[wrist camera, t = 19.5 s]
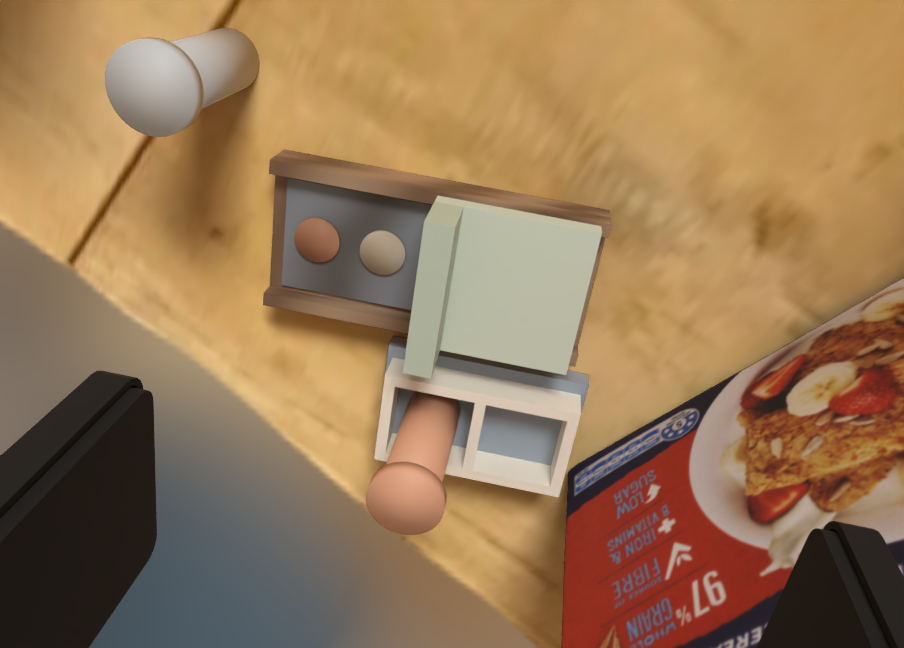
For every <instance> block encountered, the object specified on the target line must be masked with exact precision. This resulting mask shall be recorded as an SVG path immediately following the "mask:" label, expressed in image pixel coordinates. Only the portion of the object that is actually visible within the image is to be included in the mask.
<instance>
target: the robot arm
mask: <svg viewBox="0 0 904 648" xmlns="http://www.w3.org/2000/svg"><path fill="white" fill-rule="evenodd" d="M155 488H156V486H155V448H154V409H153V396H152V393H151V392H150V391H147V390H143V385H142V383H141V381H140V380H139V379H138V378H135V377H130V376H125V375H120V374H115V373H110V372H106V371H96V372H94V373H93V374H91V375H90V376H89V377H88V378H87V379H86V380H85V381H84V382H82V383H81V384H80V385H79V386H78V387H77V388H76V389H75V390H74V391H73V392H71V393H70V394H69V395H68V396H67V397H66V398H65V399H64V400H62V401H61V402H60V403H59V404H58V405H57V406H56V407H55V408H53V409H52V410H51V411H50V412H49V413H48V414H47V415H46V416H45V417H44V418H42V419H41V420H40V421H39V422H38V423H37V424H36V425H35V426H33V427H32V428H31V429H30V430H29V431H28V432H27V433H26V434H25V435H23V436H22V437H21V438H20V439H19V440H18V441H17V442H16V443H14V444H13V445H12V446H11V447H10V448H9V449H8V450H7V451H6V452H4V453H3V454H2V455H0V648H89V646H90V645H91V643H92V642H93V640H94V639H95V637H96V636H97V635H98V633H99V632H100V630H101V629H102V627H103V626H104V624H105V623H106V621H107V620H108V619H109V617H110V616H111V614H112V613H113V611H114V610H115V608H116V607H117V605H118V604H119V603H120V601H121V600H122V598H123V597H124V595H125V594H126V592H127V591H128V589H129V588H130V586H131V585H132V584H133V582H134V581H135V579H136V578H137V576H138V575H139V573H140V572H141V570H142V569H143V567H144V566H145V565H146V563H147V562H148V560H149V558H150V556H151V554H152V552H153V549H154V546H155V542H156V535H157V529H156V528H157V526H156V489H155ZM756 648H904V576H903V574H902V572H901V570H900V569H899V567H898V565H897V563H896V561H895V559H894V557H893V555H892V553H891V552H890V550H889V548H888V546H887V544H886V542H885V540H884V538H883V537H882V535H881V534H880V533H879V531H877V530H875V529H872V528H867V527H862V526H857V525H852V524H847V523H842V522H838V521H830V522H829V523H827V524H826V525H825V526H824V528H823V529H819V528H816V529H813V530H812V531H811V532H810V534H809V535H808V537H807V539H806V542H805V544H804V546H803V548H802V550H801V552H800V555H799V557H798V559H797V561H796V563H795V565H794V567H793V570H792V572H791V574H790V576H789V578H788V580H787V583H786V585H785V587H784V589H783V591H782V593H781V596H780V598H779V600H778V602H777V604H776V606H775V608H774V611H773V613H772V615H771V617H770V619H769V621H768V624H767V626H766V628H765V630H764V632H763V634H762V636H761V639H760V641H759V643H758V645H757V647H756Z"/></svg>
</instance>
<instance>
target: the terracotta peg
mask: <svg viewBox="0 0 904 648" xmlns="http://www.w3.org/2000/svg"><path fill="white" fill-rule="evenodd" d="M460 412H461V409H460V404H459V402H458V400H457V399H453V398H448V397H443V396H438V395H433V394H428V393H424V392H419V391H416V392H415V393H414V394H413V395H412V396H411V398H410V401H409V404H408V406H407V409H406V412H405V414H404V417H403V420H402V422H401V425H400V428H399V430H398V433H397V436H396V438H395V441H394V444H393V447H392V449H391V452H390V455H389V457H388V460H387V463H386V465H385V466H383V467H381V468H380V469H379V470H378V471H377V472H376V473H375V474H374V475H373V477H372V479H371V482H370V485H369V487H368V490H367V493H366V504H367V507H368V510H369V512H370V514H371V515H372V517H373V518H374V519H375V520H376V521H377V522H378V523H379V524H380V525H382V526H383V527H385V528H387V529H389V530H391V531H393V532H396V533H400V534H406V535H416V534H422V533H425V532H427V531H429V530H431V529H433V528H434V527H435V526H436V525H437V524H438V523H439V522H440V520H441V519H442V516H443V512H444V508H445V504H446V491H445V487H444V485H443V479H444V475H445V471H446V468H447V464H448V460H449V456H450V452H451V448H452V444H453V441H454V437H455V433H456V429H457V425H458V421H459V417H460Z"/></svg>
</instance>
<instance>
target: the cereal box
mask: <svg viewBox="0 0 904 648" xmlns="http://www.w3.org/2000/svg"><path fill="white" fill-rule="evenodd" d="M830 521H838V522H842V523H847V524H852V525H857V526H862V527H867V528H872V529H875V530H877V531H879V533H880V534H881V535H882V537H883V538H884V540H885V542H886V544H887V546H888V548H889V550H890V552H891V553H892V555H893V557H894V559H895V561H896V563H897V565H898V567H899V569H900V570H901V572H902V574H903V576H904V278H903V279H901V280H899V281H897V282H895V283H894V284H892V285H890V286H889V287H887V288H885V289H883V290H882V291H880V292H878V293H876V294H875V295H873V296H871V297H869V298H868V299H866V300H864V301H862V302H860V303H858V304H857V305H855V306H853V307H852V308H850V309H848V310H846V311H844V312H843V313H841V314H839V315H838V316H836V317H834V318H833V319H831V320H829V321H828V322H826V323H824V324H822V325H820V326H819V327H817V328H815V329H813V330H811V331H810V332H808V333H807V334H805V335H803V336H802V337H800V338H798V339H796V340H795V341H793V342H791V343H790V344H788V345H786V346H784V347H782V348H781V349H779V350H777V351H776V352H774V353H772V354H770V355H769V356H767V357H765V358H763V359H762V360H760V361H758V362H757V363H755V364H753V365H751V366H749V367H747V368H745V369H743V370H742V371H740V372H738V373H736V374H735V375H733V376H731V377H730V378H728V379H726V380H724V381H723V382H721V383H719V384H718V385H716V386H714V387H712V388H710V389H708V390H707V391H705V392H703V393H701V394H700V395H698V396H696V397H694V398H693V399H691V400H689V401H687V402H685V403H684V404H682V405H680V406H679V407H677V408H675V409H673V410H672V411H670V412H668V413H666V414H665V415H663V416H661V417H659V418H658V419H656V420H654V421H653V422H651V423H649V424H647V425H645V426H644V427H642V428H640V429H638V430H637V431H635V432H633V433H631V434H629V435H628V436H626V437H624V438H623V439H621V440H619V441H617V442H615V443H614V444H612V445H611V446H609V447H607V448H605V449H604V450H602V451H600V452H598V453H596V454H595V455H593V456H591V457H589V458H588V459H586V460H585V461H583V462H581V463H579V464H578V465H576V466H575V467H574V468H572V469H571V470H570V471H569V473H568V495H567V516H566V538H565V562H564V565H565V566H564V586H563V620H562V643H561V648H756V647H757V645H758V643H759V641H760V639H761V636H762V634H763V632H764V630H765V628H766V626H767V624H768V621H769V619H770V617H771V615H772V613H773V611H774V608H775V606H776V604H777V602H778V600H779V598H780V596H781V593H782V591H783V589H784V587H785V585H786V583H787V580H788V578H789V576H790V574H791V572H792V570H793V567H794V565H795V563H796V561H797V559H798V557H799V555H800V552H801V550H802V548H803V546H804V544H805V542H806V539H807V537H808V535H809V534H810V532H811V531H812V530H813V529H816V528H819V529H823V528H824V526H825V525H826V524H827V523H829V522H830Z"/></svg>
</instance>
